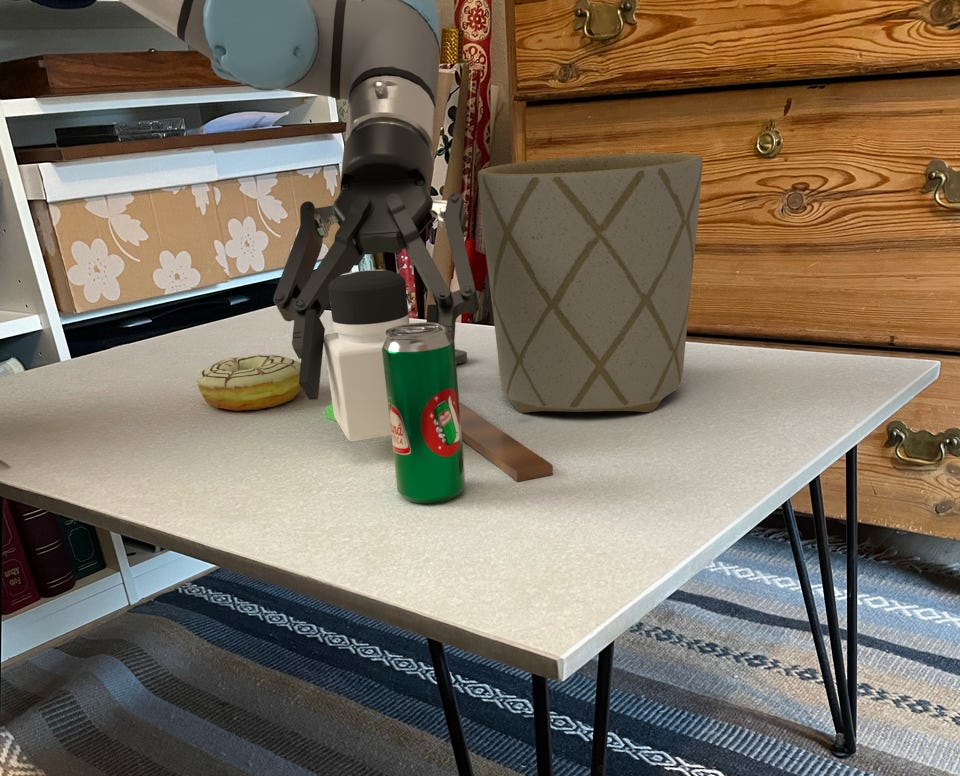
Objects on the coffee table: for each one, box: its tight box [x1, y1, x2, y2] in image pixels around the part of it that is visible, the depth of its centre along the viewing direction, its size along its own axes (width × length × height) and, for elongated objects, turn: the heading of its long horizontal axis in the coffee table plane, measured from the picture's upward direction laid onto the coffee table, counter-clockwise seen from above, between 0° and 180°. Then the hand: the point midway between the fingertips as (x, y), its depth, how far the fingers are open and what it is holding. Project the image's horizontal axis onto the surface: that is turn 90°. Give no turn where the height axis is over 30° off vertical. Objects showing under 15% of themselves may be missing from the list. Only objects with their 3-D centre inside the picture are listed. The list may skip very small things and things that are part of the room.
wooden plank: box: [459, 401, 554, 482], centre depth 85 cm, size 26×3×1 cm, turn 22°
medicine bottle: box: [323, 269, 410, 442], centre depth 79 cm, size 7×7×12 cm
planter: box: [477, 152, 704, 413], centre depth 89 cm, size 19×19×20 cm
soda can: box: [382, 321, 466, 505], centre depth 70 cm, size 5×5×12 cm
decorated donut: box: [196, 354, 302, 412], centre depth 99 cm, size 10×11×4 cm
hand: (369, 389), depth 77 cm, fingers closed on medicine bottle, 9 cm apart
